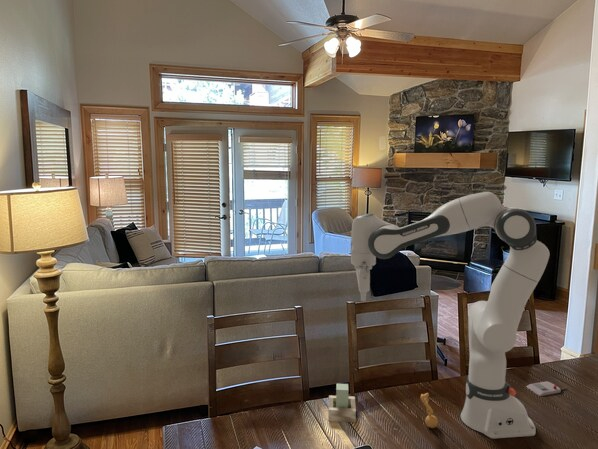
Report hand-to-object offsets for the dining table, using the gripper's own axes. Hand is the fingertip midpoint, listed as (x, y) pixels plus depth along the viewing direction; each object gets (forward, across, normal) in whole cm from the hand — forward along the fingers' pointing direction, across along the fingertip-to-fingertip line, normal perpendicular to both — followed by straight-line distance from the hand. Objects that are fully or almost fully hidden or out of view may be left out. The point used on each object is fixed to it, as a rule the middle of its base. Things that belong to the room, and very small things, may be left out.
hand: (362, 296), depth 159 cm
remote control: (+38, +8, -70) cm, 80 cm away
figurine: (+37, -20, -21) cm, 47 cm away
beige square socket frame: (+37, -15, +7) cm, 41 cm away
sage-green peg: (+37, -15, +7) cm, 41 cm away
